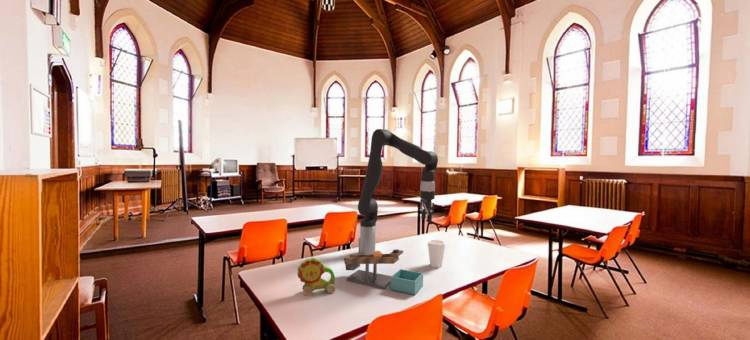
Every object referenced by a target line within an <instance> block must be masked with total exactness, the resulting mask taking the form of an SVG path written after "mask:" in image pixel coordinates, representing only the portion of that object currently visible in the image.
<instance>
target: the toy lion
mask: <svg viewBox="0 0 750 340" xmlns="http://www.w3.org/2000/svg"><path fill="white" fill-rule="evenodd" d="M325 273H328V274H329V275H330V280H328V281H327V280H326V279H324V278H323V277H322V276H323V274H325ZM297 278H299V280H300V282H301V283H304V284H303V285H302V290H303V291H302V292H303V295H304V296H306V295H309V294H311V295H312V294H313V292H314V291H316V290H326V292H327V293H328V294H333V293H334V292H335V291H336V286H335V281H336V277H335V272H334V270H332V268H331V267H329V266H325V265H324V263H323V262H321V260H320V259H318V258H316V257H311V258H306V259H305V260H303V261H301V262H300V265H299V266H297ZM309 296H310V295H309Z"/></svg>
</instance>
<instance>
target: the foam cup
mask: <svg viewBox="0 0 750 340" xmlns="http://www.w3.org/2000/svg"><path fill="white" fill-rule="evenodd" d="M427 248H428V255H429V256H428V260H429V266H430V267H431V268H437V269H439V268H442V267H443V263H444V256H445V250H446V249H445V248H446V242H445V241H444V240H440V239H429V240H428V241H427Z"/></svg>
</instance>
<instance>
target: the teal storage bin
mask: <svg viewBox="0 0 750 340" xmlns="http://www.w3.org/2000/svg"><path fill="white" fill-rule="evenodd" d="M391 276H392V277H391V284H390V291H391V292H398V293H402V294H406V295H407V294H408V295H411V296H416V295H417V294H418V292H420V290H421V289H422V288H423V286H424V272H418V271H414V270H413V271H412V270H409V269H408V270H407V269H404V268H403V269H402V268H400V269H399V270H397V272H395V273H394V274H393V275H391Z"/></svg>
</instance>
